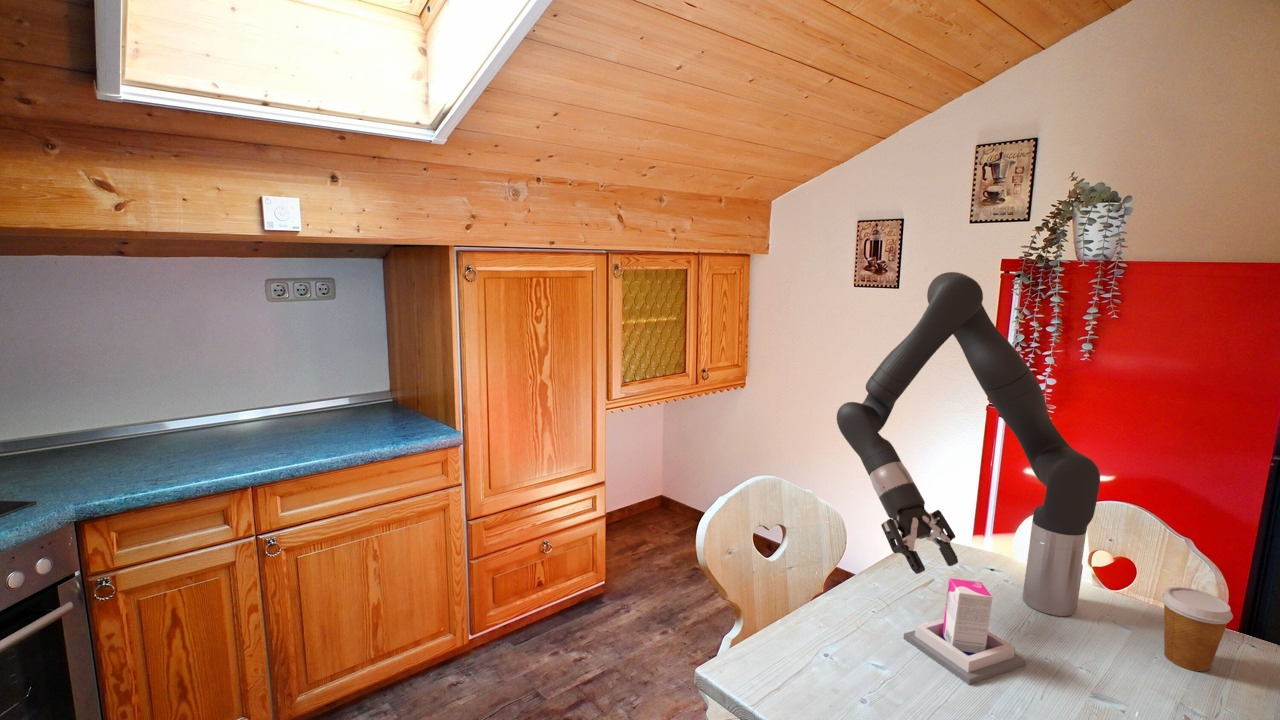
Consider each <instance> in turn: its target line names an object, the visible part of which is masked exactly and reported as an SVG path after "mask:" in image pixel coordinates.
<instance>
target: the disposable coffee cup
mask: <svg viewBox="0 0 1280 720" xmlns="http://www.w3.org/2000/svg"><path fill="white" fill-rule="evenodd" d="M1161 599H1162V601H1163V604H1164V605H1163V607H1164V610H1163V612H1164V613H1163V614H1164V617H1163V620H1164V622H1163V624H1164V629H1163V634H1164V637H1163V638H1164V643H1163V644H1164V645H1163V649H1164V652H1163V655H1164V657H1165V658H1167V660H1168V661H1170V662H1171V663H1173V664H1175V665H1176V664H1177V666H1179V667H1181V668H1183V669H1186V670H1189V669H1190V671H1193V670H1194V672H1198V671H1201V672H1200V673H1203V671H1206V672H1208V671H1207V670H1209V669H1210V670H1211V667H1212V663H1213V661H1214V659H1215V657H1216V653H1217V651H1218V648H1219V646H1220V643H1221V642H1222V637H1224V633H1225V630H1226V628H1227V625H1228V623H1230V621H1232V620H1233V618H1234V615H1233V613H1232V611H1231V606H1230V605H1229V603H1227V602H1226V601H1225V600H1223V599H1221V598H1220V597H1217V596H1215V595H1213V594H1211V593H1208V592H1205V591H1202V590H1198V589H1194V588H1190V587H1182V586H1170V587H1168V588H1167V589H1166V590H1165V592H1164V593H1162V594H1161ZM1210 670H1209V671H1210Z"/></svg>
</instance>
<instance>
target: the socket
mask: <svg viewBox="0 0 1280 720" xmlns="http://www.w3.org/2000/svg"><path fill="white" fill-rule="evenodd" d="M943 624H944V617H943V618H939V619H936V620H931V621H928V622H925V623H921V624H917V625H915V629H914V630H911V631H907V632H904V633H903V640H906V641H907V642H908V643H909V642H910V645H912V646H914V647H915V648H916V647H917V648H916V649H918V650H919V651H921V652H923V653H924V654H925V655H926V656H928V657H929V658H931V659H932V660H934V662H936V663H937V664H939V665H940V666H942V667H944V668H945V669H946V670H948V671H949V672H950V673H952V674H953V675H954V676H956V677H957V678H959V679H960V680H962V681H963V682H965V683H966V684H967V685H971V684H974V683H977V682H979V681H983V680H985V679H989V678H992V677H995V676H998V675H1000V674H1003V673H1007V672H1009V671H1012V670H1016V669H1018V668H1022V667H1024V666H1026V659H1025V658H1024V657H1021V656H1020V655H1018V654H1017V653H1015V652H1016V651H1015V650H1016V646H1015V645H1012V644H1011V643H1009V642H1008V641H1006V640H1005V639H1003V638H1001V637H999V636H997V635H996V634H994V633H993V632H991V631H989V630H988V635H987V642H986V649H985V651H983V652H979V653H976V654H973V655H966V654H964V653H963V652H961V651H960V650H958V649H957V648H955V647H954V646H952V645H951V644H949V643H948V642H946V641H945V640H944V638H943V636H942V631H943Z"/></svg>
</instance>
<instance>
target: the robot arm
mask: <svg viewBox="0 0 1280 720" xmlns="http://www.w3.org/2000/svg"><path fill="white" fill-rule="evenodd" d="M926 292H927V294H926V298H927V299H926V300H927V303H928V305H927V307H926V309H925V311H924V313H923V315H922V317H921V318H920V320H919V321H918V322H917V324H916V325H915V326H914V327H913V329H912V330H911V331H910V332H909V334H908V335H907V336H906V337H905V338H904V339H903V340H902V341H900V343H899V344H897V346H895V347H894V348H893V349H892V350H891V351H890V352H889V354H887V355H886V357H884V358H883V360H882V362H881V363H880V364H879V365H878V366H877V368H876V369H875V371H874V372H873V373H872V375H871V376H870V377H869V379H868V380H867V382H866V384H865V390H866V392H867V395H866V397H865V399H864V400H863V402H862V403H860V402H858V401H857V402H855V401H849V402H845V403H844V404H842V405H841V406H840V407H839V408H838V410H837V412H836V423H837V426H838V429H839V432H840V433H841V435H842V436H843V438H844V439H845V441H846V442H847V443H848V444H849V446H850V447H851V449H852V450H853V451H854V452H855V453H856V454H857V455H858V456H859V458H860V460H861V462H862V465H863V466H864V468H865V471H866V472H867V475H868V476H869V479H870V481H871V484H872V487H873V489H874V492H875V493H876V495H877V496H878V499H879V501H880V503H881V505H882V507H883V509H884V510H885V513H886V515H887V517H888V518H889V519H887V520H886V521H884V522H883V523H881V529H882V531H883V533H884V535H885V538H886V539H887V542H888V544H889V546H890V549H891V551H892V552H893V553H894V554H901V555H903V556H904V557H905V559H906V561H907V563H908V565H909V567H910V569H911V570H912V571H913V572H914V573H915V574H916V575H918V574H921V573H923V572H925V571H926V568H925V566H924V564H923V562H922V560H921V558H920V555H919V554H918V552H917V550H915V542H916V540H918V539H926V541H929V542H932V543H934V545H936V546H937V547H939V548H938V549H939V552H940V554H941V555H942V557H943V560H944V561H945V563H946V564H947V567H952V566H955V565H956V564H957V565H958V563H959V560H958V556H957V554H956V552H955V551H954V549H953V547H952V545H951V542H952V540H954V539H956V534H955V533H954V531H953V529H952V528H951V526H950V524H949V523H948V522H947V520H946V517H945V516H944V515H943V513H942V511H941V510H939V509H936V510H934V511H933V512H930V513H929V512H928V511H927V510H926V508H925V505H926V502H925V500H924V499H925V498H923V496H922V494H921V492H920V490H919V489H918V487H917V485H916V483H915V481H914V480H913V478H912V475H911V474H910V472H909V471H908V469H907V468H906V467H905V465H904V463H903V462H902V461H901V458H900V456H899V455H898V452H897V451H896V449H895V448H894V446H893V445H892V443H891V442H890V441H889V440H888V439H886V438H884V437H883V436H882V435H881V434H880V433H879V432H880V431H881V430H882V429H883V428H884V426H885V425H886V423H887V421H888V419H889V418H890V416H891V413H892V412H893V409H894V407H895V404H896V402H897V401H898V399H899V398H900V397H901V396H902V394H903V393H904V392H905V391H906V389H907V388H908V387H909V386H910V384H911V383H912V382H913V380H914V379H915V378H916V377H917V375H918V374H919V373H920V372H921V370H922V369H923V367H925V365H926V364H927V363H928V361H929V360H931V358H932V357H933V355H934V354H935V353H936V352H937V351H938V350H939V349H940V348H941V347H942V345H944V343H945V342H947V340H949V338H950V337H951V336H954V338H955V339H956V341H957V343H958V344H959V346H960V348H961V350H962V353H963V354H964V357H965V359H966V361H967V362H968V365H969V366H970V369H971V371H972V373H973V375H974V377H975V378H976V380H977V381H978V384H979V386H980V387H981V389H982V391H983V392H984V394H985V395H986V396H987V399H988V400H989V401H990V403H991V405H993V407H994V408H995V410H996V412H997V413H998V414H999V416H1000V417H1001V418H1002V420H1003V421H1004V423H1005V424H1006V425H1007V426H1008V428H1009V429H1010V430H1011V432H1012V433H1013V434H1014V436H1015V437H1016V439H1017V440H1018V442H1019V445H1020V447H1021V448H1022V450H1023V453H1024V454H1025V457H1026V459H1027V461H1028V463H1029V465H1030V467H1031V469H1032V472H1033V473H1034V474H1035V477H1036V478H1037V480H1038V481H1039V482H1040V484H1043V486H1045V487H1046V489H1045V490H1046V491H1045V496H1044V500H1043V504H1041V505H1037V506H1036V507H1035V508H1034V510H1033V514H1032V523H1031V530H1030V539H1029V544H1028V545H1029V546H1028V552H1027V553H1028V554H1027V560H1026V561H1027V562H1026V569H1025V575H1024V585H1023V590H1022V600H1023V602H1024V603H1025V604H1026V605H1028V606H1029V607H1030V608H1032V609H1034V610H1036V611H1038V612H1041V613H1044V614H1048V615H1052V616H1059V617H1069V616H1072V615H1073V614H1075V612H1076V608H1077V607H1078V602H1079V596H1080V590H1081V584H1082V583H1081V582H1082V574H1083V568H1084V565H1083V558H1084V551H1085V544H1086V538H1087V537H1086V535H1087V530H1088V526H1089V524H1090V523H1091V522H1092V521H1093V518H1094V515H1095V511H1096V507H1097V502H1098V496H1099V492H1100V488H1101V487H1100V486H1101V475H1100V471H1099V467H1098V465H1097V464H1096V463H1095V462H1094V461H1093V460H1092V459H1090V458H1089V457H1088V456H1086V455H1084V454H1082V453H1081V452H1078V451H1077V450H1075V449H1074V448H1073V447H1072V446H1071V445H1070V444H1069V443H1068V442H1067V441H1066V439H1065V438H1064V437H1063V436H1062V434H1061V433H1060V431H1059V430H1058V429H1057V427H1056V426H1055V424H1054V423H1053V421H1052V419H1051V416H1050V415H1049V412H1048V407H1047V402H1046V399H1045V394H1044V392H1043V390H1042V387H1041V385H1040V384H1039V381H1038V380H1037V378H1036V377H1035V375H1034V373H1033V372H1032V370H1031V369H1030V367H1029V366H1028V364H1027V363H1026V361H1025V360H1024V358H1023V357H1022V356H1021V355H1020V354H1019V352H1018V351H1017V349H1016V348H1015V347H1014V346H1013V344H1011V343H1010V341H1009V340H1008V339H1007V338H1006V337H1005V336H1004V335H1003V334H1002V333H1001V331H999V329H998V328H996V327H997V326H995V324H994V323H993V322H992V320H991V317H990V316H989V315H988V313H987V311H986V309H985V307H984V305H983V300H984V292H983V289H982V288H981V285H980V284H979V283H978V281H976V280H975V279H974V278H972V277H970V276H968V275H966V274H964V273H960V272H957V271H951V272H950V271H949V272H945V273H941V274H938V276H936V277H935V278H934V279H932V280H931V282H930V284H929V286H928V287H927V291H926ZM945 532H946V533H945Z"/></svg>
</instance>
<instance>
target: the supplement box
mask: <svg viewBox="0 0 1280 720" xmlns="http://www.w3.org/2000/svg"><path fill="white" fill-rule="evenodd" d="M946 594H947V595H946V600H945V601H946V603H945V611H944V617H943V618H944V624H943V631H942V636H943V638H944V640H945V641H946V642H948V643H949V644H951V645H952V646H954V647H955V648H957V649H958V650H960V651H961V652H963V653H964V654H966V655H973V654H976V653H979V652H983V651H985V649H986V642H987V635H988V631H989V626H990V619H991V612H992V603H993V599H994V598H993V596H992V595H991V594H990V592H989V591H988V589H987V588H986V586H985V585H984V584H983V582H982V581H976V580H975V581H974V580H967V579H966V580H965V579H961V578H960V579H957V578H951V577H949V579H948V587H947V593H946Z"/></svg>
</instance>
